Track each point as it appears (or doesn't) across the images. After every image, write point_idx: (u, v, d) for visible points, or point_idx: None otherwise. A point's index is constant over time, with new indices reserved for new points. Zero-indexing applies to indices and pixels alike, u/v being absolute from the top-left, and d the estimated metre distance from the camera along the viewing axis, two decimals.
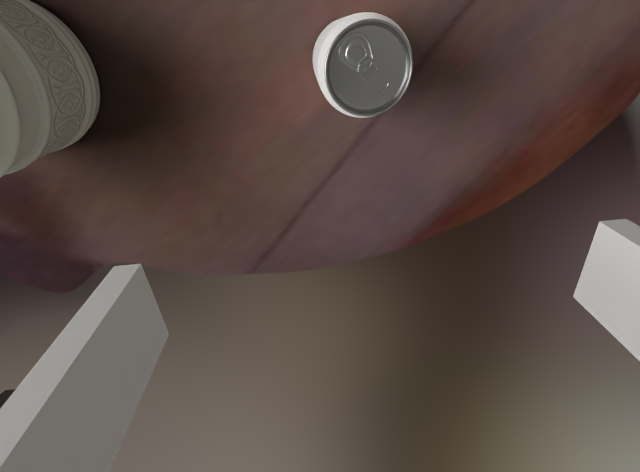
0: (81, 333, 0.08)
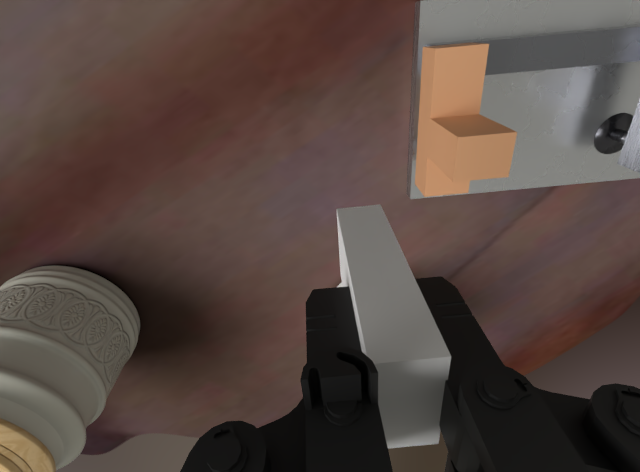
0: (362, 248, 0.10)
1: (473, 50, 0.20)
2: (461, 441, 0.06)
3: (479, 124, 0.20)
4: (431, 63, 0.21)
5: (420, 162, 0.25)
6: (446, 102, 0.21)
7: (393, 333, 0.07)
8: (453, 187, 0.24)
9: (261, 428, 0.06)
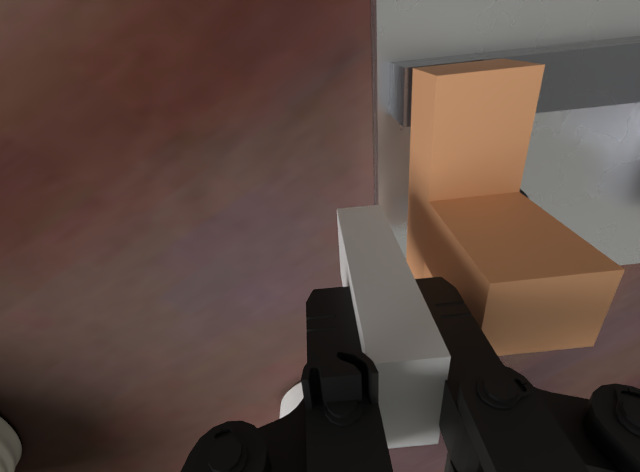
0: (362, 248, 0.10)
1: (513, 78, 0.10)
2: (461, 441, 0.06)
3: (526, 228, 0.10)
4: (429, 102, 0.11)
5: (412, 259, 0.15)
6: (457, 173, 0.11)
7: (394, 333, 0.07)
8: None
9: (261, 428, 0.06)
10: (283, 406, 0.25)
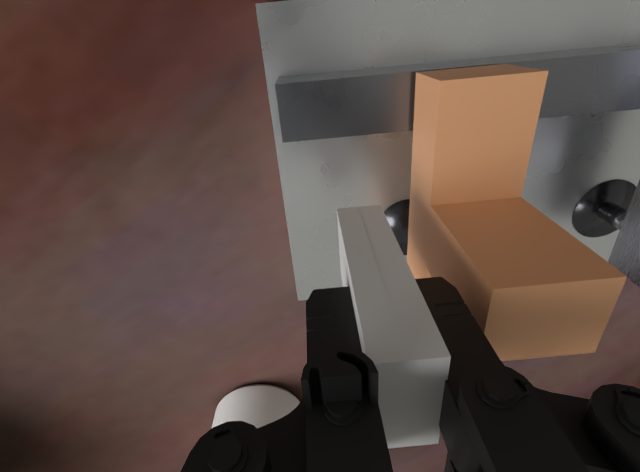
0: (362, 248, 0.10)
1: (516, 84, 0.10)
2: (461, 441, 0.06)
3: (529, 234, 0.10)
4: (432, 107, 0.11)
5: (413, 263, 0.15)
6: (459, 177, 0.11)
7: (393, 333, 0.07)
8: None
9: (261, 428, 0.06)
10: (215, 414, 0.25)
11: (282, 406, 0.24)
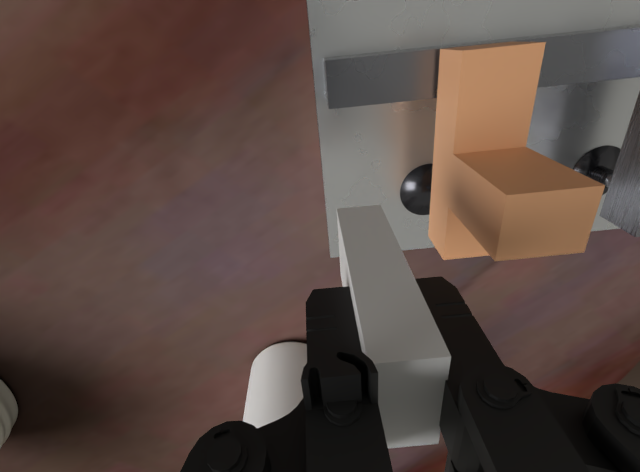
0: (362, 248, 0.10)
1: (521, 52, 0.13)
2: (461, 441, 0.06)
3: (532, 166, 0.13)
4: (455, 73, 0.14)
5: (436, 211, 0.18)
6: (477, 130, 0.14)
7: (393, 333, 0.07)
8: None
9: (261, 428, 0.06)
10: (252, 368, 0.28)
11: None
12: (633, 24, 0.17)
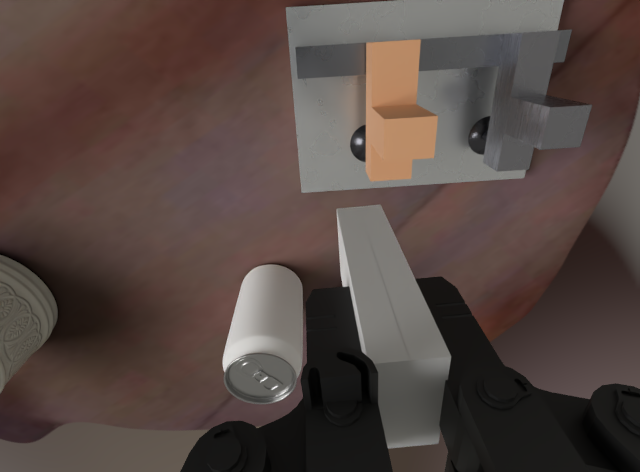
0: (362, 248, 0.10)
1: (406, 45, 0.22)
2: (461, 441, 0.06)
3: (410, 110, 0.22)
4: (370, 56, 0.23)
5: (367, 150, 0.27)
6: (385, 92, 0.23)
7: (393, 333, 0.07)
8: (397, 173, 0.26)
9: (261, 428, 0.06)
10: (242, 283, 0.36)
11: (288, 275, 0.35)
12: (498, 33, 0.26)
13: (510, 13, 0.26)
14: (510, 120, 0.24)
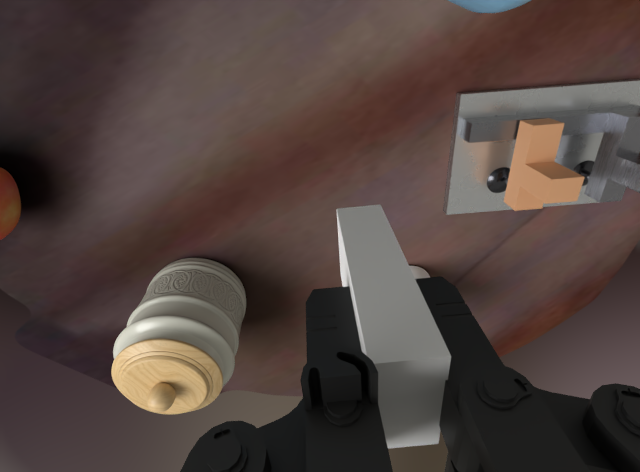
0: (362, 248, 0.10)
1: (555, 126, 0.34)
2: (461, 441, 0.06)
3: (558, 169, 0.34)
4: (528, 132, 0.35)
5: (511, 188, 0.39)
6: (535, 154, 0.36)
7: (393, 333, 0.07)
8: (533, 204, 0.38)
9: (261, 428, 0.06)
10: None
11: (426, 274, 0.48)
12: (600, 107, 0.39)
13: (610, 94, 0.38)
14: (614, 170, 0.37)
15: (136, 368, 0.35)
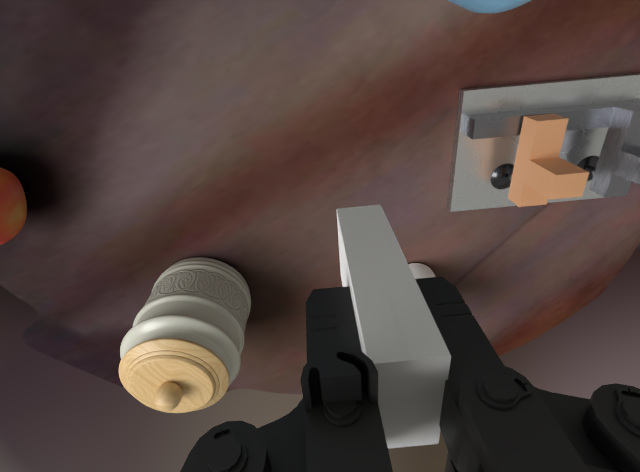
0: (362, 248, 0.10)
1: (559, 122, 0.34)
2: (461, 441, 0.06)
3: (563, 165, 0.34)
4: (532, 128, 0.35)
5: (515, 185, 0.39)
6: (539, 150, 0.35)
7: (393, 333, 0.07)
8: (537, 200, 0.38)
9: (261, 428, 0.06)
10: None
11: (430, 271, 0.48)
12: (605, 102, 0.38)
13: (614, 89, 0.38)
14: (619, 165, 0.36)
15: (143, 368, 0.35)
